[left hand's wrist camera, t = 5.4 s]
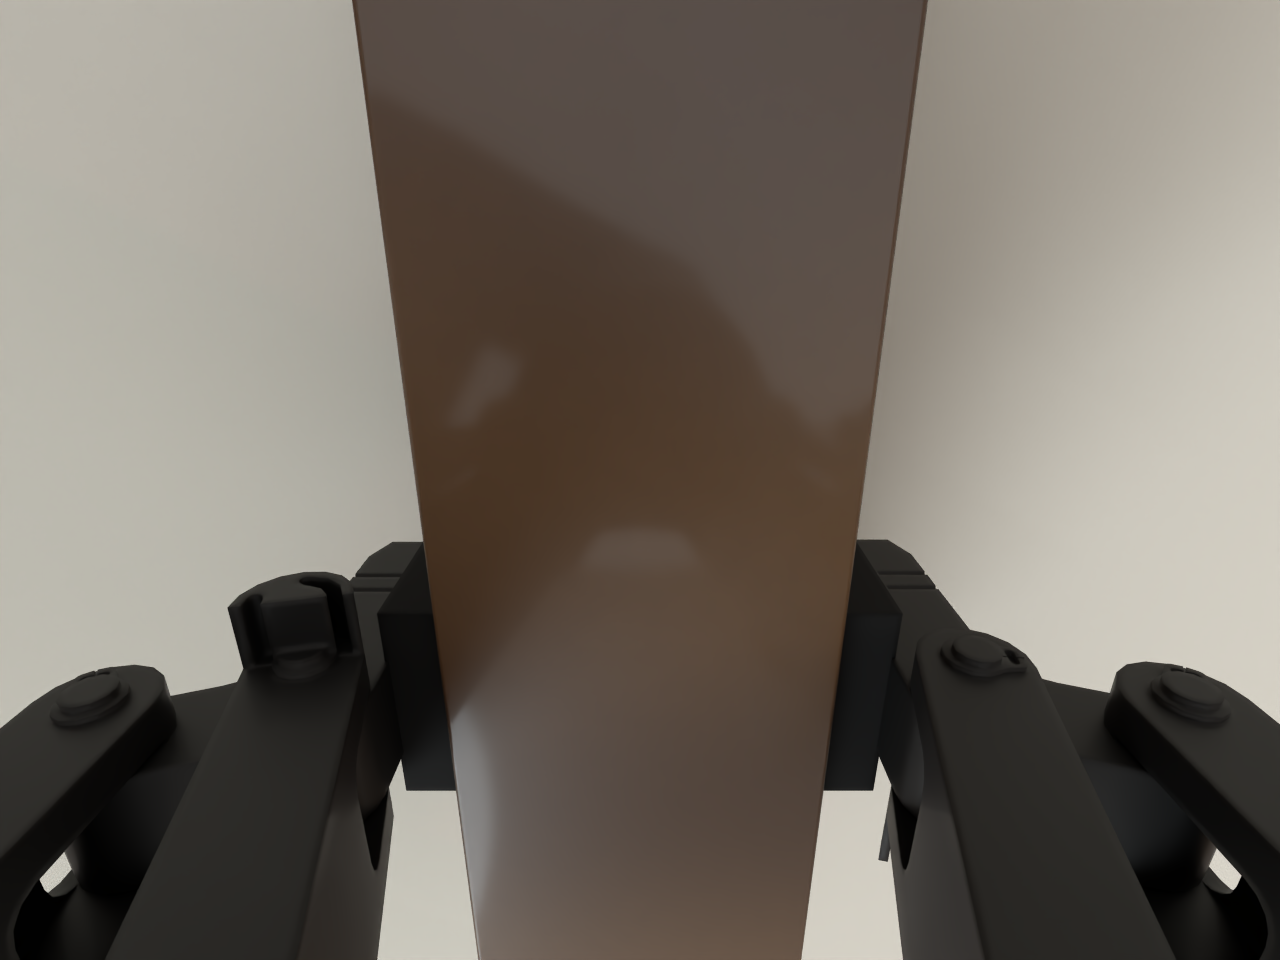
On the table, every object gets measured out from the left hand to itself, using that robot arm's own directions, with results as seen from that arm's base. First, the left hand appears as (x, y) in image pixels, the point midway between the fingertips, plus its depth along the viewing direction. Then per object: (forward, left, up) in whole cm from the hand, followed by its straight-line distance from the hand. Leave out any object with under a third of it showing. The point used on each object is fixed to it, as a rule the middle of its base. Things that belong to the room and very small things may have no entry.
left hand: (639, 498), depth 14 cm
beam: (-12, +14, -1) cm, 19 cm away
